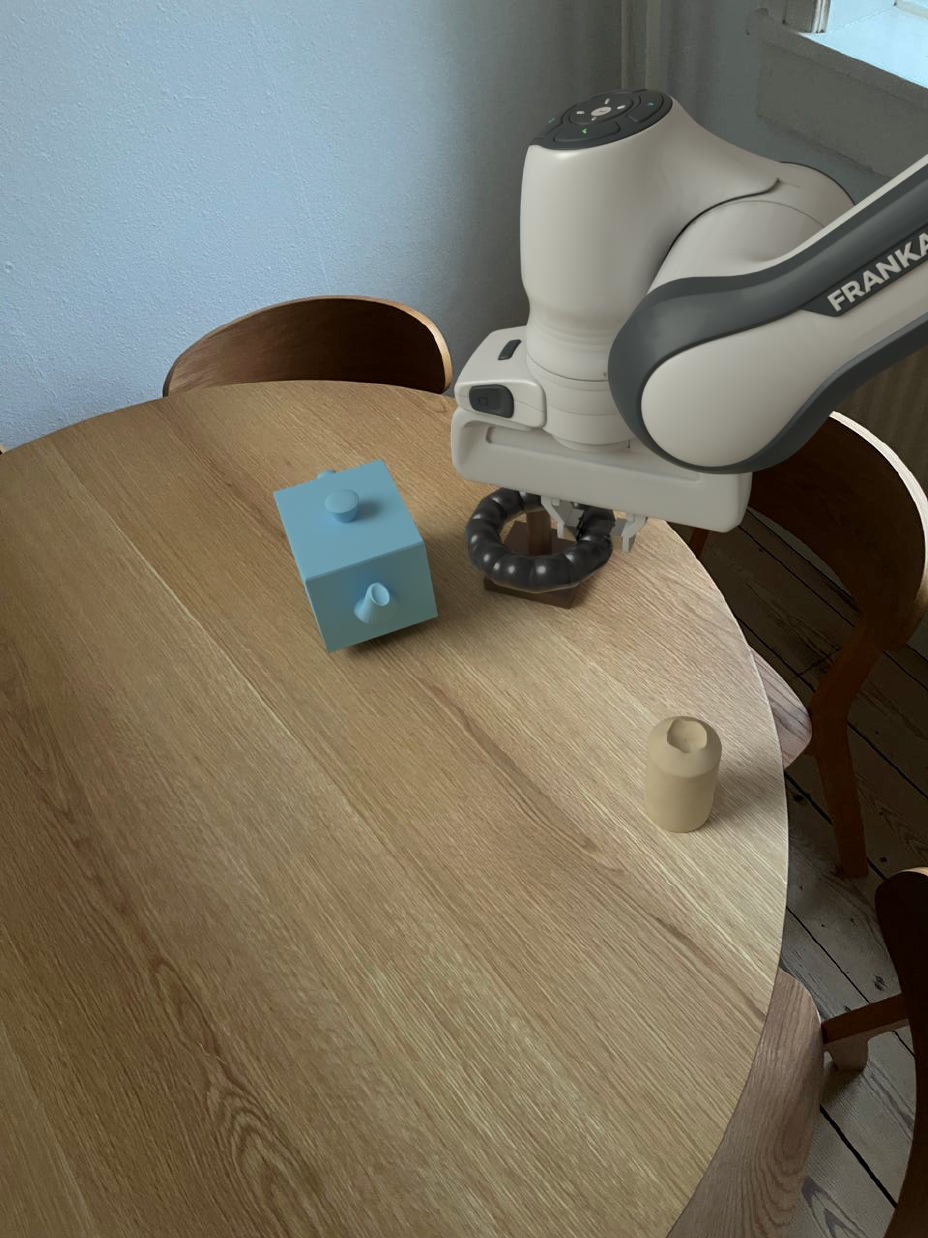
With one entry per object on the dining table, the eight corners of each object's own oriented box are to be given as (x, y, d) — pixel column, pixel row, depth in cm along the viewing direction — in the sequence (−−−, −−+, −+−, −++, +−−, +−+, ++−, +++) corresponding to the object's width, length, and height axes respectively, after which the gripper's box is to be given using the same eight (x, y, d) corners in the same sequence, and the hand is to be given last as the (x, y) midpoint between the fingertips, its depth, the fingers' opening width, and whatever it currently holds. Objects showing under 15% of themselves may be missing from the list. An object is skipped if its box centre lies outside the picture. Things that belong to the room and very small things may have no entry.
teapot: (294, 559, 103) (261, 458, 93) (392, 528, 105) (371, 425, 95) (348, 712, 89) (316, 613, 79) (461, 672, 91) (444, 570, 80)
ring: (635, 510, 74) (636, 484, 72) (589, 614, 68) (588, 588, 66) (500, 485, 78) (497, 459, 76) (444, 580, 71) (440, 555, 69)
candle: (659, 842, 77) (667, 775, 70) (632, 786, 81) (636, 716, 73) (723, 821, 78) (737, 752, 70) (693, 767, 81) (703, 696, 74)
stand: (597, 548, 100) (597, 461, 91) (568, 609, 95) (566, 523, 86) (516, 530, 103) (509, 444, 94) (484, 589, 98) (473, 503, 89)
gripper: (779, 375, 58) (750, 540, 69) (468, 329, 65) (484, 485, 75) (758, 439, 55) (730, 603, 65) (430, 383, 61) (452, 540, 71)
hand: (596, 539), depth 70 cm, fingers closed on ring, 2 cm apart
